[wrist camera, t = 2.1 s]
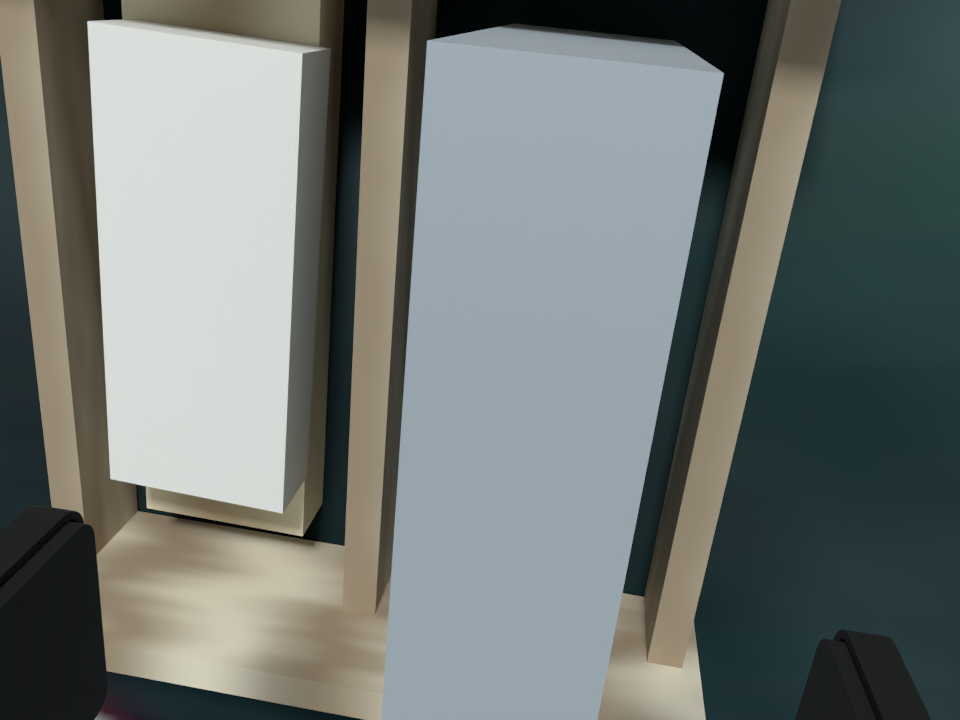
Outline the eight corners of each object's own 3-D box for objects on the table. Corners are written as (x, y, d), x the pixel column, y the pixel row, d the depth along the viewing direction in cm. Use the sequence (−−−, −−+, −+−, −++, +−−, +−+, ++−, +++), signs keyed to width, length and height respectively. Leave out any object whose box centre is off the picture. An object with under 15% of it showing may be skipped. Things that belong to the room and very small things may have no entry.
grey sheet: (675, 40, 22) (724, 73, 12) (592, 518, 27) (576, 824, 17) (515, 23, 22) (427, 40, 12) (466, 497, 27) (376, 785, 17)
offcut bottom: (352, -36, 22) (321, -40, 20) (328, 493, 29) (302, 536, 26) (168, -57, 23) (117, -64, 21) (183, 468, 29) (146, 508, 27)
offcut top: (330, 48, 21) (302, 53, 19) (307, 476, 26) (282, 513, 24) (133, 19, 21) (87, 20, 19) (146, 445, 26) (110, 479, 24)
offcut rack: (858, -107, 20) (951, -149, 14) (685, 630, 28) (702, 783, 22) (34, -180, 22) (-164, -242, 16) (98, 528, 30) (-19, 647, 24)
